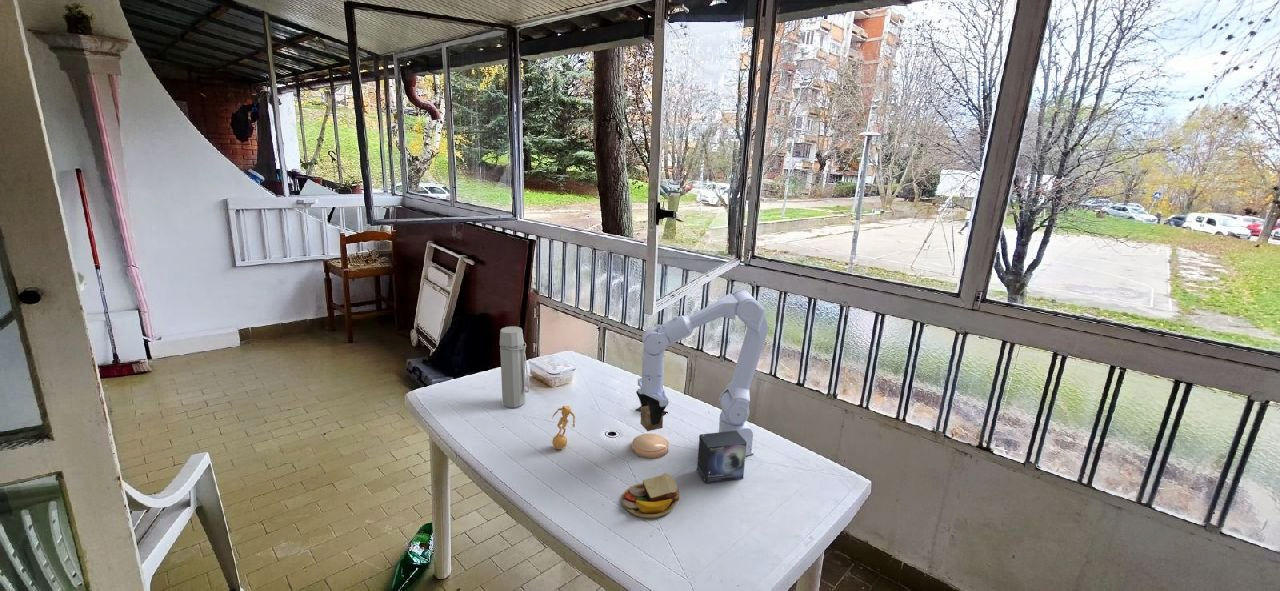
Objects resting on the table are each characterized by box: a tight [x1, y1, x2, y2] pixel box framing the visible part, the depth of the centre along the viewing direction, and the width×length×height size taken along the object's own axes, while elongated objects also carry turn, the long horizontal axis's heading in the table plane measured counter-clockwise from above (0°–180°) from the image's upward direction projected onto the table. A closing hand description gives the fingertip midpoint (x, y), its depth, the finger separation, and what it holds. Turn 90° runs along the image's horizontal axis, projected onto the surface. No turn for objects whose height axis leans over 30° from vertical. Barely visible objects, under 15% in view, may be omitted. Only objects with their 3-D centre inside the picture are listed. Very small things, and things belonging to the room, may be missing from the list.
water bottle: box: [499, 326, 531, 409], centre depth 169 cm, size 9×8×25 cm
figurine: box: [551, 405, 576, 450], centre depth 147 cm, size 8×6×12 cm
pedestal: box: [631, 433, 670, 459], centre depth 149 cm, size 10×10×2 cm
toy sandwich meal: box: [621, 472, 680, 519], centre depth 126 cm, size 12×14×5 cm
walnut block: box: [639, 406, 664, 432], centre depth 146 cm, size 4×4×5 cm
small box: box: [696, 430, 747, 484], centre depth 136 cm, size 11×6×10 cm, turn 106°
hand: (651, 419), depth 147 cm, fingers closed on walnut block, 4 cm apart
